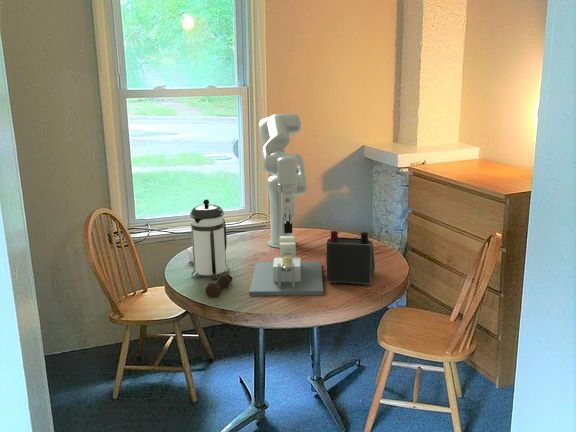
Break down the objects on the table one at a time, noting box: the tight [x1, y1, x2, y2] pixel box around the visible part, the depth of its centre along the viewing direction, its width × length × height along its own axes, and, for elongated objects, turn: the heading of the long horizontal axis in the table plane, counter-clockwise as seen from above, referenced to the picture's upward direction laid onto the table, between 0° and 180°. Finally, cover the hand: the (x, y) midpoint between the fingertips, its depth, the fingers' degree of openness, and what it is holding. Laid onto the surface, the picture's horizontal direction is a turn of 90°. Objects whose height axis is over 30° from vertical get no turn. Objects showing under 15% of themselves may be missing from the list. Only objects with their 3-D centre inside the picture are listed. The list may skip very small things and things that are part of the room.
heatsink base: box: [248, 257, 324, 297], centre depth 220 cm, size 31×26×10 cm
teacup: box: [187, 246, 194, 263], centre depth 244 cm, size 10×8×5 cm
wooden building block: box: [282, 253, 291, 271], centre depth 216 cm, size 15×3×11 cm
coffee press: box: [189, 199, 230, 282], centre depth 225 cm, size 17×16×30 cm
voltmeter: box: [325, 230, 376, 287], centre depth 218 cm, size 16×16×20 cm
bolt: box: [205, 274, 233, 299], centre depth 212 cm, size 6×5×15 cm
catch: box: [279, 235, 297, 258], centre depth 229 cm, size 6×6×11 cm
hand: (288, 232), depth 237 cm, fingers closed
